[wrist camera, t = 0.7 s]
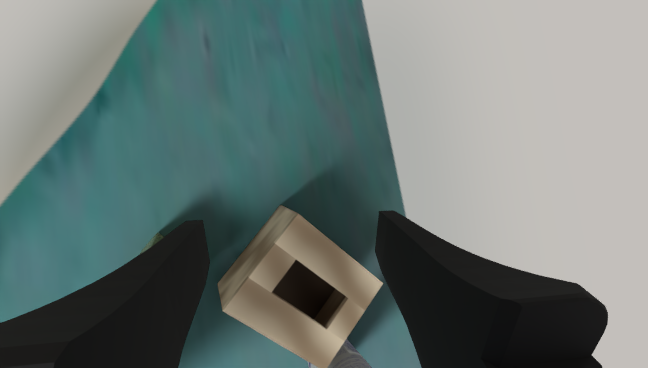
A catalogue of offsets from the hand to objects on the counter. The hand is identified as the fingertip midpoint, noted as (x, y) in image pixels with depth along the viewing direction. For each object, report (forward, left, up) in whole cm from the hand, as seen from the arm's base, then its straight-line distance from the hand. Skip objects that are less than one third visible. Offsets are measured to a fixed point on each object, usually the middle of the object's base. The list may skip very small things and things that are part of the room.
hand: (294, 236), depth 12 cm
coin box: (-3, -10, -19) cm, 22 cm away
